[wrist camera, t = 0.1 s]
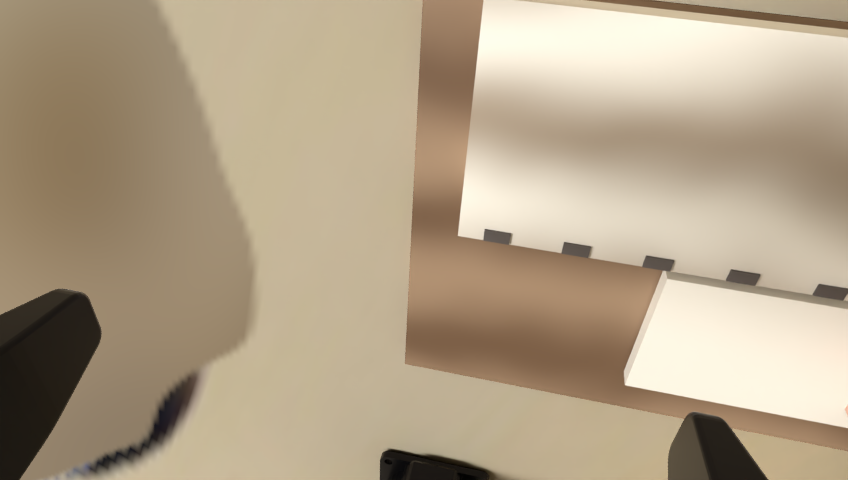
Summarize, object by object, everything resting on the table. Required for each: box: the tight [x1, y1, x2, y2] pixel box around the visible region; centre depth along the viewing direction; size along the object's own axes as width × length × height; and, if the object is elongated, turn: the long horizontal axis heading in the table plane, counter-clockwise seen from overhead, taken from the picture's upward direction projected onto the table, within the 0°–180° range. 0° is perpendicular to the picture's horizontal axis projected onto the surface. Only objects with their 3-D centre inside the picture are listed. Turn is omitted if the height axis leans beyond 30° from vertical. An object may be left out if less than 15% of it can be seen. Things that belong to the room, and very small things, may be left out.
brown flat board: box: [405, 0, 848, 451], centre depth 22 cm, size 18×29×2 cm, turn 88°
